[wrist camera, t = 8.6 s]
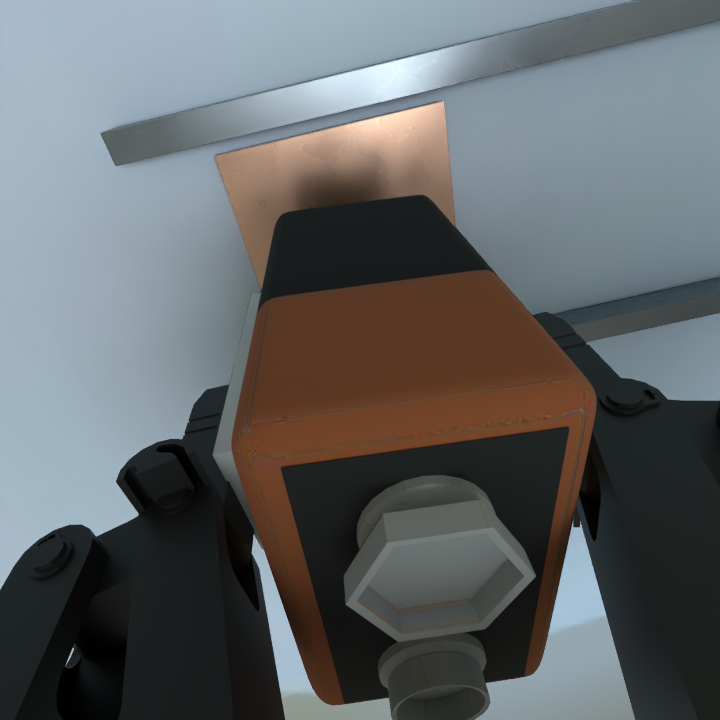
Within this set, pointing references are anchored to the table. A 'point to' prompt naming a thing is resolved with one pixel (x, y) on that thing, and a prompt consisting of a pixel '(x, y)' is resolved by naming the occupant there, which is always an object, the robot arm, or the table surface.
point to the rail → (404, 140)
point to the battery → (407, 458)
